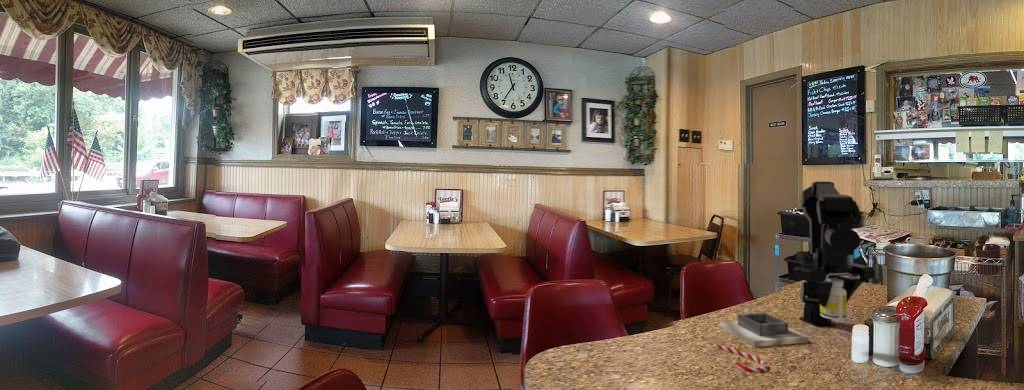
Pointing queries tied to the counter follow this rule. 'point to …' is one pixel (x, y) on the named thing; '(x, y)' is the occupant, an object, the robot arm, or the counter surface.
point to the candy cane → (749, 369)
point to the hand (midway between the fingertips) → (832, 305)
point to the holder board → (763, 330)
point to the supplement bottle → (835, 302)
